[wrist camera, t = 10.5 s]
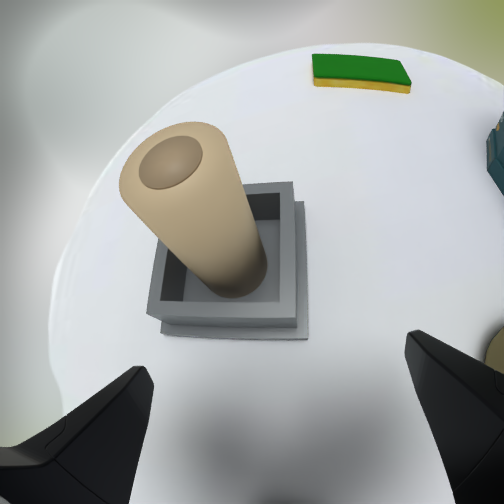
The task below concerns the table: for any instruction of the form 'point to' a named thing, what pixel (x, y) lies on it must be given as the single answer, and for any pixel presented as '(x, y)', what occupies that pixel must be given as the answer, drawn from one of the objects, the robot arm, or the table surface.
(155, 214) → the paper roll
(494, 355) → the squeeze bottle
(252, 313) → the square tray
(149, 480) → the table surface
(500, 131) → the dark green canister
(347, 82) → the dish sponge
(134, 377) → the robot arm
